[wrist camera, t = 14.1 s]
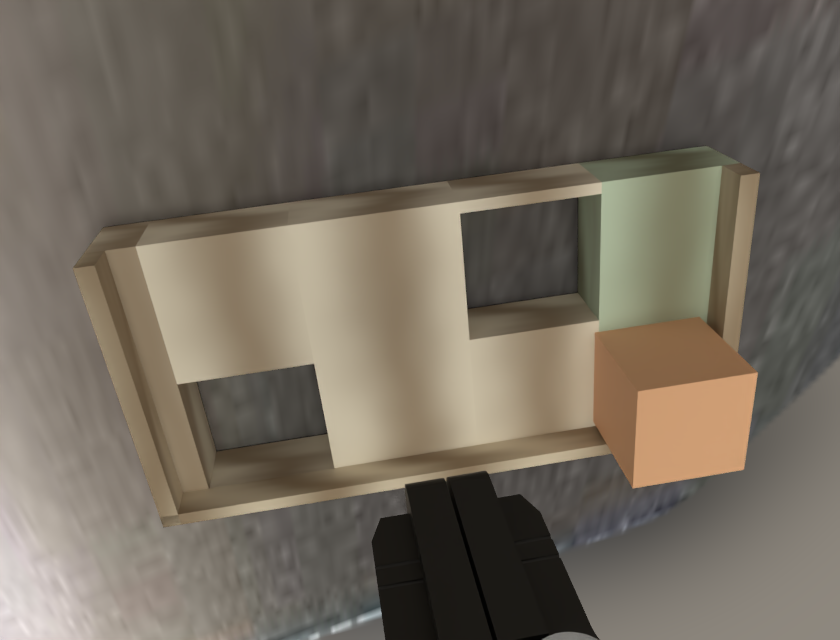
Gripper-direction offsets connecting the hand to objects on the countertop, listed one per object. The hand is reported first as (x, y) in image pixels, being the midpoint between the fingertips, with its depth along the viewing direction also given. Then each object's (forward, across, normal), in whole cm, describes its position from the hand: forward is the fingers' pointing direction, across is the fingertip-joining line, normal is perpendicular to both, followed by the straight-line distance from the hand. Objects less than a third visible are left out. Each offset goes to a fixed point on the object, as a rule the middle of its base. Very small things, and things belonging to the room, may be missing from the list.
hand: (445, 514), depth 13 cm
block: (+18, -12, +10) cm, 24 cm away
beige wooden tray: (+21, -3, +7) cm, 22 cm away
